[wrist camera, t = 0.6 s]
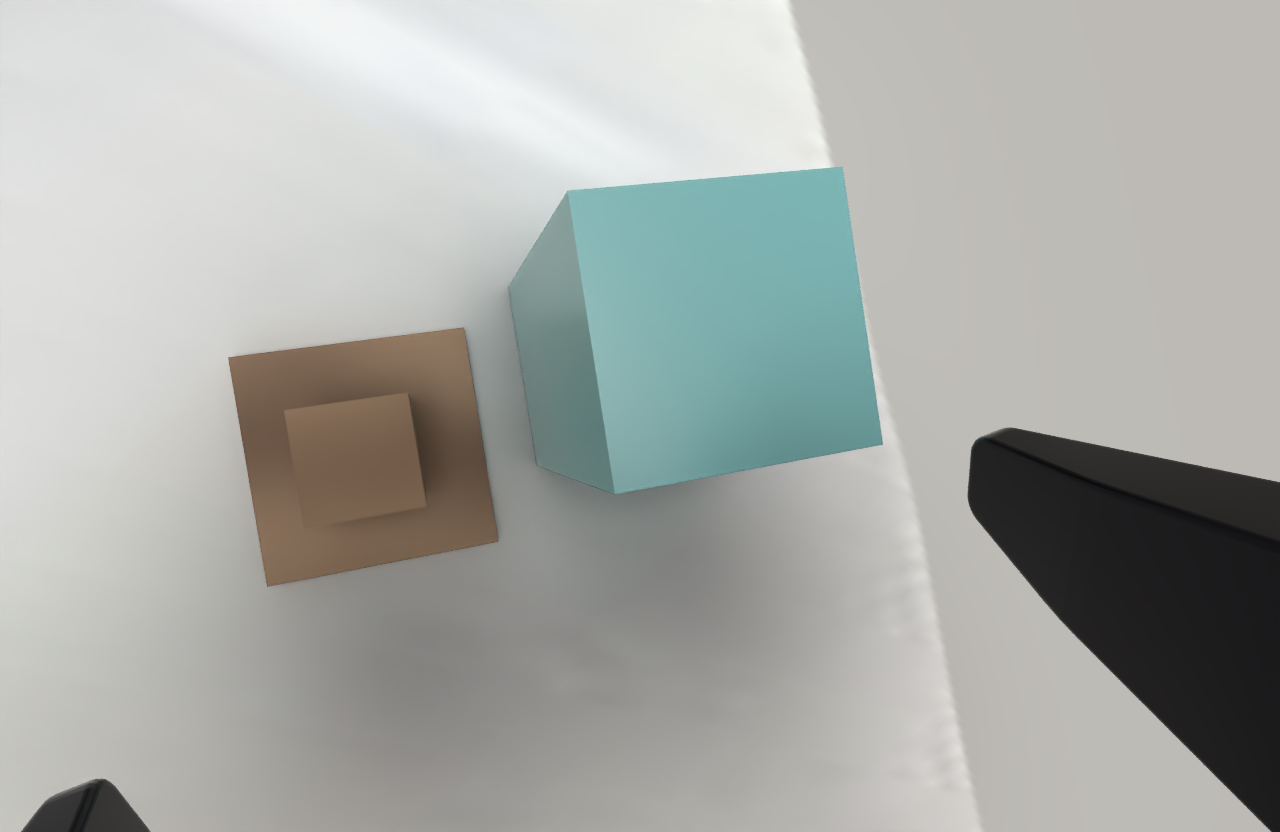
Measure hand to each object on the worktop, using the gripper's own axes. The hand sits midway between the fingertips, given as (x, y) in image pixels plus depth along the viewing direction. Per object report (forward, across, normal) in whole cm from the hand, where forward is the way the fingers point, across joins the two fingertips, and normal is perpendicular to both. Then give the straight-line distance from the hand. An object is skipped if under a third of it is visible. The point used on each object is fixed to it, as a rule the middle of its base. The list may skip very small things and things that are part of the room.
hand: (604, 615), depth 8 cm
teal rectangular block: (+15, -4, +5) cm, 16 cm away
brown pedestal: (+15, +3, +6) cm, 16 cm away
